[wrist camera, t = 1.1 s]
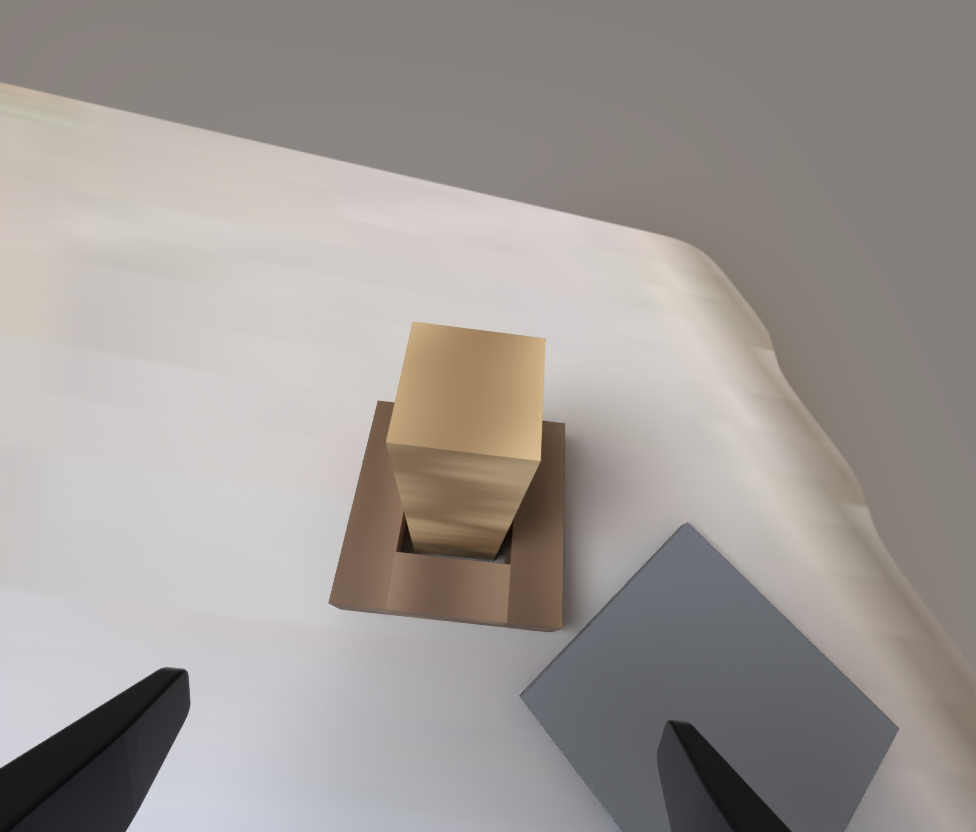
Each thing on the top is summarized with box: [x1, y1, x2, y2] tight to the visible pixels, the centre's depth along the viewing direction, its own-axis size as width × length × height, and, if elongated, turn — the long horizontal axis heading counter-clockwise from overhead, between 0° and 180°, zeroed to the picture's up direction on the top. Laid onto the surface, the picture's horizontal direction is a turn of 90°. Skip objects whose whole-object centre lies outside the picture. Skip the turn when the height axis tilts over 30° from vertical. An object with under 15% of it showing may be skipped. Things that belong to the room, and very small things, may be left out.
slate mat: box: [520, 522, 899, 832], centre depth 20 cm, size 12×12×1 cm
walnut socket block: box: [329, 401, 565, 632], centre depth 23 cm, size 10×10×2 cm
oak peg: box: [386, 322, 546, 561], centre depth 18 cm, size 4×4×13 cm
